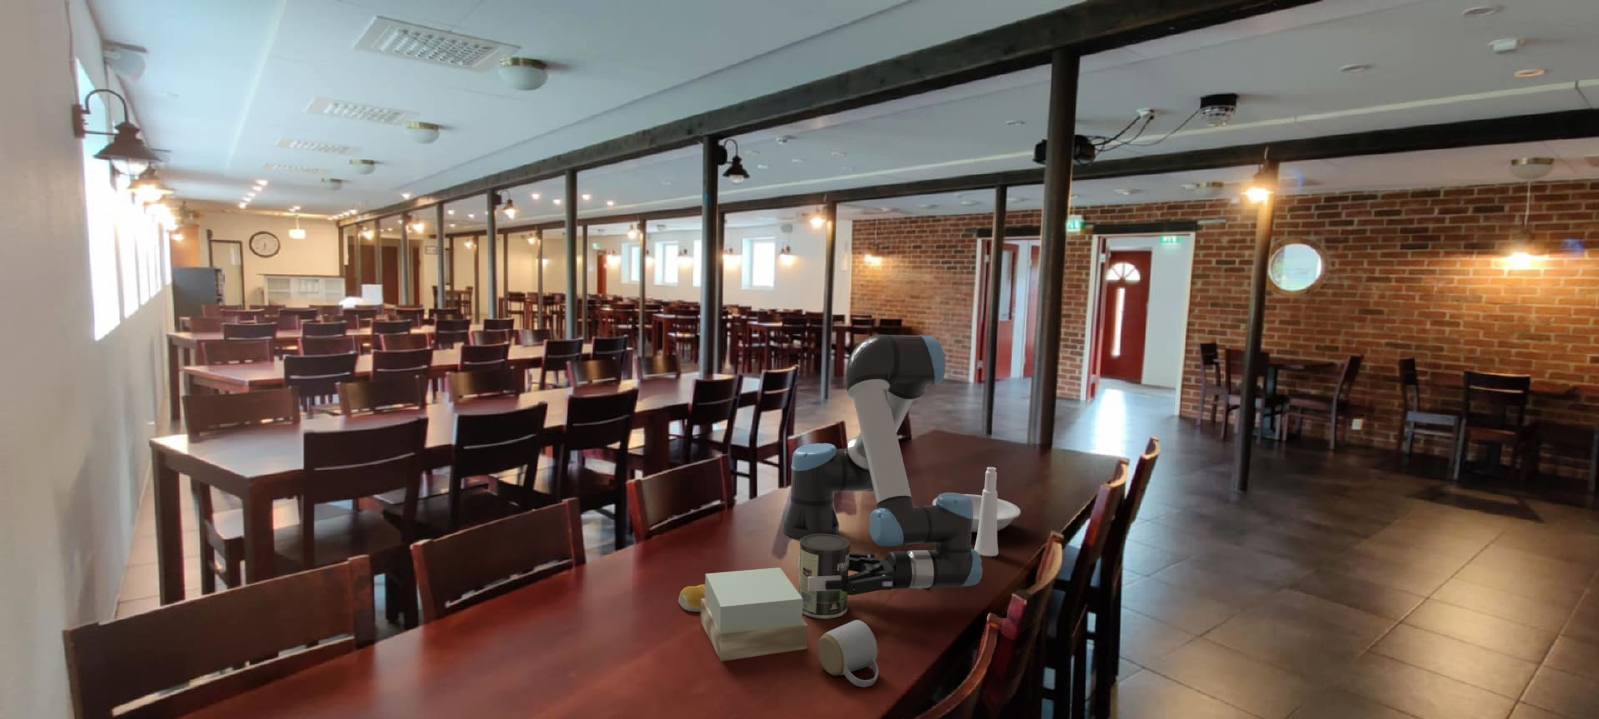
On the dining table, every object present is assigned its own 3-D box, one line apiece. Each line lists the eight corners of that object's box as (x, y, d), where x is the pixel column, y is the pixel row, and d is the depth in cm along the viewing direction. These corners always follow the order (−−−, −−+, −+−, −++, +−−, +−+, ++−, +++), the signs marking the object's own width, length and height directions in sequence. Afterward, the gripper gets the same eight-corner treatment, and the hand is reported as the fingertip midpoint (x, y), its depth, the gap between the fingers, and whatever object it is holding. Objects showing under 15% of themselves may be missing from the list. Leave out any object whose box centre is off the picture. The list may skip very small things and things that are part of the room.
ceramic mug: (813, 666, 125) (815, 624, 124) (848, 653, 130) (851, 612, 129) (853, 696, 117) (856, 651, 116) (889, 681, 122) (892, 637, 121)
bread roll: (729, 607, 148) (730, 588, 148) (689, 616, 143) (690, 597, 143) (711, 592, 155) (712, 574, 154) (672, 600, 150) (673, 582, 149)
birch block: (700, 623, 141) (701, 598, 140) (778, 613, 146) (778, 589, 146) (720, 664, 126) (721, 636, 125) (806, 651, 132) (807, 624, 131)
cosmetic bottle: (972, 554, 183) (977, 469, 181) (975, 546, 189) (980, 464, 187) (996, 558, 181) (1002, 472, 179) (999, 550, 186) (1005, 466, 184)
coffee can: (853, 602, 152) (856, 537, 150) (838, 623, 142) (841, 553, 141) (807, 594, 155) (809, 530, 154) (789, 613, 146) (792, 545, 144)
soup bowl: (1029, 526, 207) (1030, 504, 207) (1004, 550, 187) (1006, 525, 186) (949, 510, 220) (950, 489, 219) (918, 531, 200) (919, 507, 199)
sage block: (704, 598, 140) (705, 573, 140) (779, 591, 145) (779, 567, 145) (720, 634, 126) (720, 606, 126) (801, 625, 131) (802, 598, 130)
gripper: (925, 610, 140) (813, 615, 136) (890, 566, 162) (793, 569, 158) (927, 573, 140) (815, 577, 136) (892, 534, 162) (794, 536, 158)
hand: (803, 573), depth 147 cm, fingers closed on coffee can, 10 cm apart
